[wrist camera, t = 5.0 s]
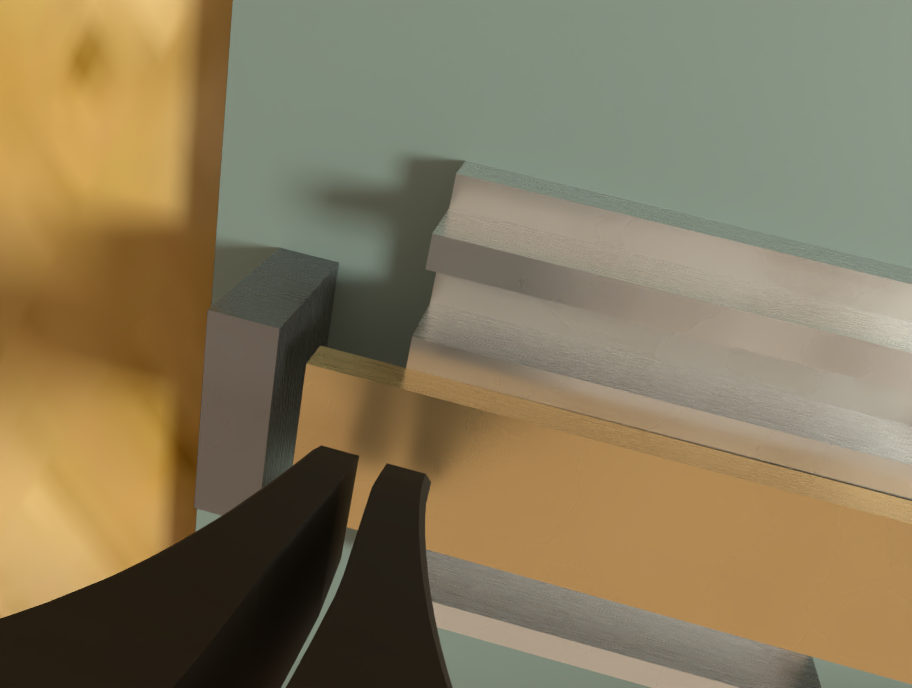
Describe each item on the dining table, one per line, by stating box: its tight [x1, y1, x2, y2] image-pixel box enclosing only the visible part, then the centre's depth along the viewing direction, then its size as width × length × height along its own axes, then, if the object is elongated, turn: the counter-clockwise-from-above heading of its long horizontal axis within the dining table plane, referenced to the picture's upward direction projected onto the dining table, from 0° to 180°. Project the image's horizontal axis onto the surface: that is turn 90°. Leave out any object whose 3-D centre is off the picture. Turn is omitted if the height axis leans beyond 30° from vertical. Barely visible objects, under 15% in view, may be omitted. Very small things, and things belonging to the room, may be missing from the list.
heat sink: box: [194, 161, 912, 688], centre depth 15 cm, size 9×15×3 cm, turn 79°
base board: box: [195, 0, 912, 688], centre depth 17 cm, size 20×18×1 cm
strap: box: [293, 346, 912, 684], centre depth 14 cm, size 3×13×1 cm, turn 78°
